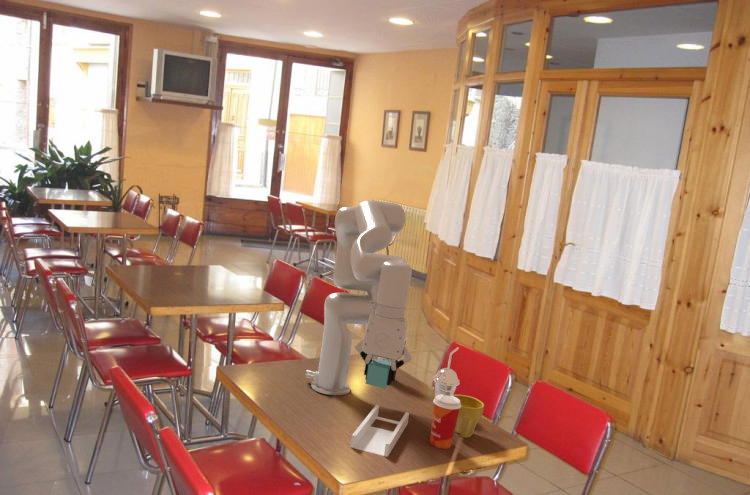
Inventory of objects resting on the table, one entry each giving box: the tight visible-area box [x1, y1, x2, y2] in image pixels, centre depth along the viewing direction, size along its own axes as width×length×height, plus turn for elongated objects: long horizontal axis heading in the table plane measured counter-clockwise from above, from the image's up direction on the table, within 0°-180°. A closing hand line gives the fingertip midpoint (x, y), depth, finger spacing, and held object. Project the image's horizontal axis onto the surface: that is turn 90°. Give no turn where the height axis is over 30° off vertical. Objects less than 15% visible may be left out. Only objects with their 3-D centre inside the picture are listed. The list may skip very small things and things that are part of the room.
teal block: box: [365, 358, 391, 389], centre depth 163 cm, size 5×5×5 cm
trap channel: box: [349, 404, 410, 458], centre depth 178 cm, size 10×24×4 cm, turn 165°
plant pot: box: [452, 394, 485, 438], centre depth 190 cm, size 10×10×10 cm
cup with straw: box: [432, 346, 460, 398], centre depth 205 cm, size 8×9×20 cm
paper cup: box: [429, 394, 461, 449], centre depth 177 cm, size 8×8×14 cm
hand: (378, 380), depth 164 cm, fingers closed on teal block, 5 cm apart
